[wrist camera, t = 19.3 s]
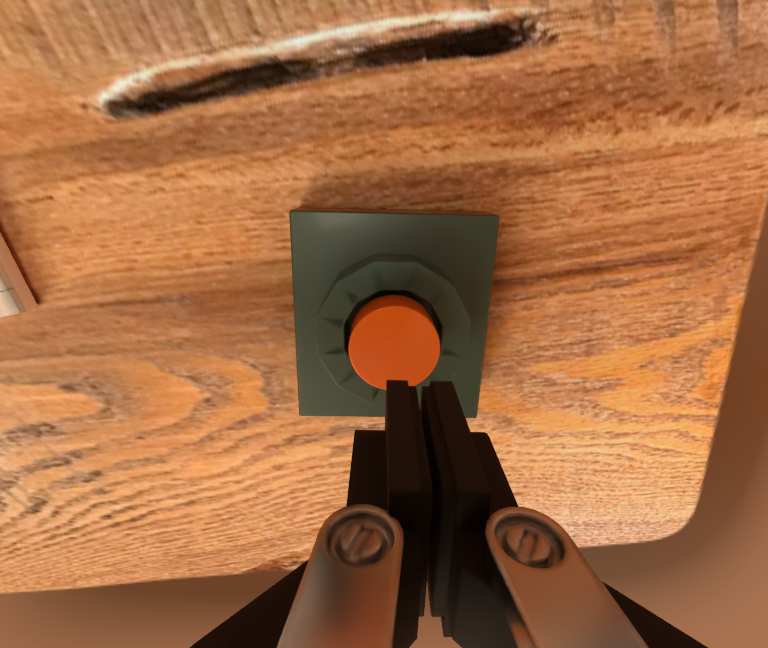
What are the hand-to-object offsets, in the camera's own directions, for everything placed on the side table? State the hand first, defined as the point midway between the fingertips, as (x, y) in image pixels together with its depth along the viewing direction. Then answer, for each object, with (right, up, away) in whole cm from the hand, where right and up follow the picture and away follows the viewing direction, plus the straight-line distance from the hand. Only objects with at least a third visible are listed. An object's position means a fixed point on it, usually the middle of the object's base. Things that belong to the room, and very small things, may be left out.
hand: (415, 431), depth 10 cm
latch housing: (0, +3, +10) cm, 11 cm away
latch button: (0, +2, +7) cm, 8 cm away
